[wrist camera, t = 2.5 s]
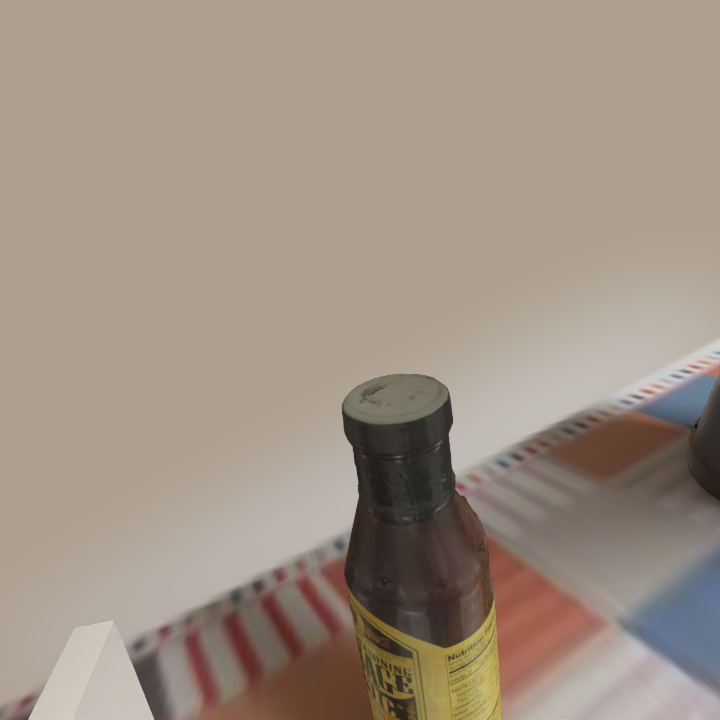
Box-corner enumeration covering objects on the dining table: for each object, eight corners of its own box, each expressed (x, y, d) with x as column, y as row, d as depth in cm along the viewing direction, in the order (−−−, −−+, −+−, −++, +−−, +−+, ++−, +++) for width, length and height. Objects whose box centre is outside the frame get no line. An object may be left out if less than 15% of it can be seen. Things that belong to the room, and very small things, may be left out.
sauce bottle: (365, 714, 29) (290, 382, 22) (468, 670, 31) (426, 346, 24) (412, 848, 23) (329, 451, 17) (536, 786, 25) (508, 397, 18)
